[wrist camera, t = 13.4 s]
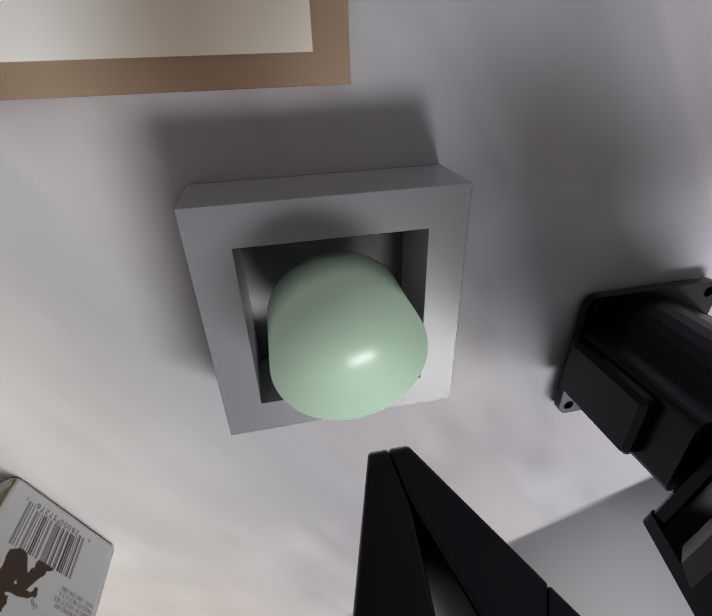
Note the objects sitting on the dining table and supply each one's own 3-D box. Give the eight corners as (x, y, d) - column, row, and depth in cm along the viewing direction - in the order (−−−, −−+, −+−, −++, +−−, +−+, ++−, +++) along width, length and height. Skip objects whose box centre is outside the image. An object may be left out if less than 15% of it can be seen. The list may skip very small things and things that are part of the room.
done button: (403, 243, 13) (432, 279, 11) (400, 358, 15) (423, 406, 13) (257, 259, 12) (258, 301, 10) (276, 377, 15) (280, 431, 12)
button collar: (439, 164, 14) (472, 183, 12) (426, 358, 18) (449, 397, 16) (187, 184, 13) (173, 209, 11) (234, 387, 17) (231, 435, 15)
